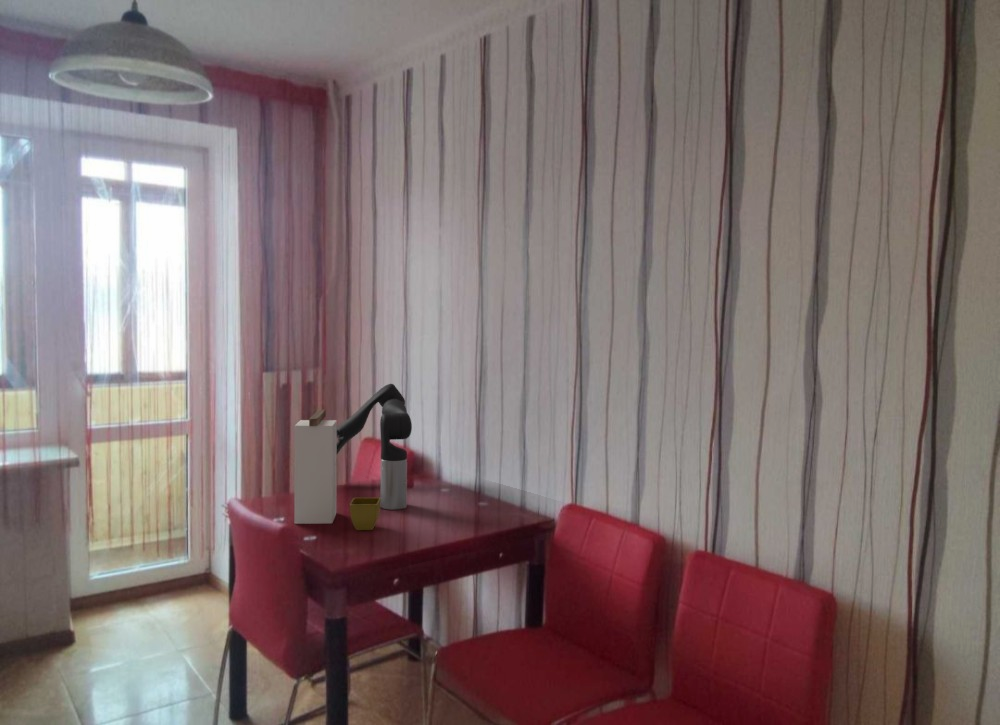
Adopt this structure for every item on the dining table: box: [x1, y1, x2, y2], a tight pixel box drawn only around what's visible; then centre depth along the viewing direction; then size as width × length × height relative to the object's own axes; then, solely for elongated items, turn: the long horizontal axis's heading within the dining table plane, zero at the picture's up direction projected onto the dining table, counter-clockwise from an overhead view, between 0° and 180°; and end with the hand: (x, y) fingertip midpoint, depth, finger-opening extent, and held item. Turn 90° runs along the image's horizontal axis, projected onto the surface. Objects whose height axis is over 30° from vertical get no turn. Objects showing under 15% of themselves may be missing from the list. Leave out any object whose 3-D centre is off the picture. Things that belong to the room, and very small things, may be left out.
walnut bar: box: [308, 409, 327, 426], centre depth 251 cm, size 2×22×2 cm, turn 6°
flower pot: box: [349, 497, 381, 531], centre depth 239 cm, size 9×9×9 cm
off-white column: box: [293, 419, 338, 525], centre depth 248 cm, size 12×12×32 cm
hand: (322, 432), depth 266 cm, fingers open, 8 cm apart
